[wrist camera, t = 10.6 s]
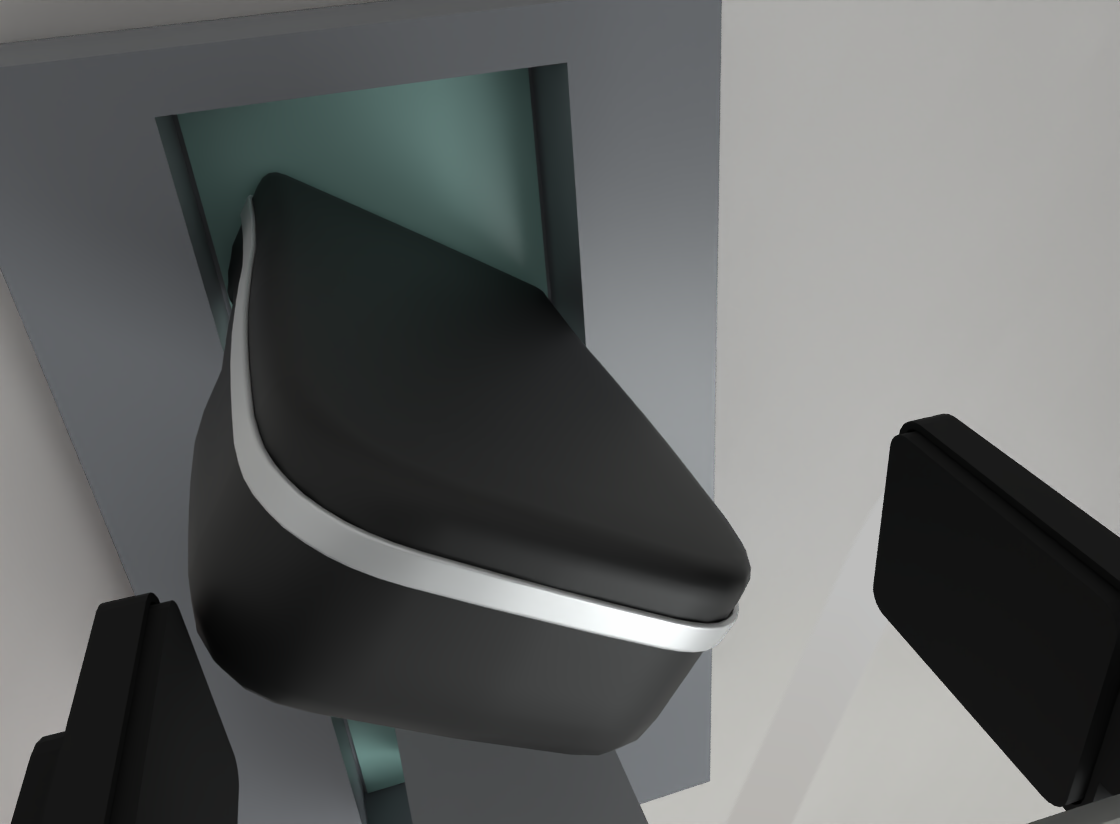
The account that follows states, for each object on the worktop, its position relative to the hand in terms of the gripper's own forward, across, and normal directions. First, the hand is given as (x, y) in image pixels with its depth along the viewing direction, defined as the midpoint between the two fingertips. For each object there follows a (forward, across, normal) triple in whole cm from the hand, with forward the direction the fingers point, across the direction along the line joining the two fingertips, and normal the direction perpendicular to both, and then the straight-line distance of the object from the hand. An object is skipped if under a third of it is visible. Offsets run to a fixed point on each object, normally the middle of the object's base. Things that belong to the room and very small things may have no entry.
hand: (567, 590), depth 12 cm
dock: (+11, +1, +5) cm, 12 cm away
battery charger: (+10, +1, 0) cm, 10 cm away
